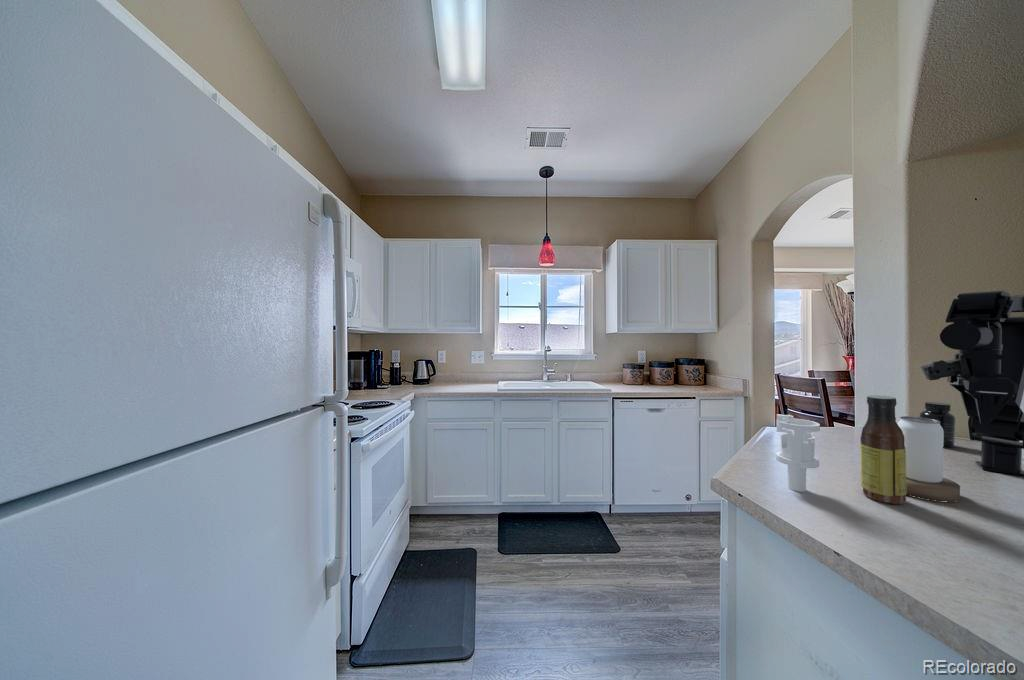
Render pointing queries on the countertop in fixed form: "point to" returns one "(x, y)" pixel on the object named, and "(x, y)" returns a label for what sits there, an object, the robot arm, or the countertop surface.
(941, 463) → the can
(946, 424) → the supplement bottle
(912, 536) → the countertop surface
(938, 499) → the walnut stand
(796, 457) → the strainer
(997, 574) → the countertop surface
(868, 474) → the sauce bottle
